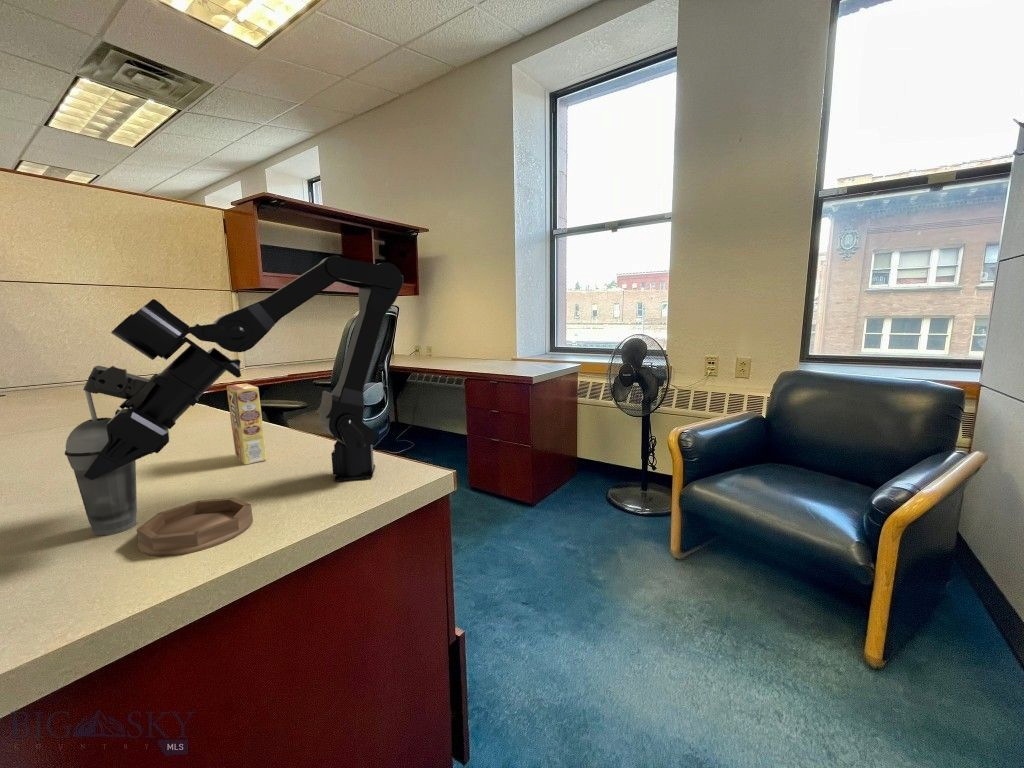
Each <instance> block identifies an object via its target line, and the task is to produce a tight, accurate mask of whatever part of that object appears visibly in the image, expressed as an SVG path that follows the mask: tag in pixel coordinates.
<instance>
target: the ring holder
mask: <svg viewBox="0 0 1024 768" xmlns="http://www.w3.org/2000/svg"><path fill="white" fill-rule="evenodd" d="M252 510H253V509H252V503H249V502H246V501H244V500H242V499H240V498H237V497H226V498H225V497H223V498H212V499H211V498H210V499H202V500H201V499H200V500H195V501H192V502H190V503H187V504H183V505H178V506H176V507H173V508H169V509H167V510H163V511H161V512H158V513H156V514H155V515H154V516H152V517H150V519H147V521H146V522H144V523H142V524H141V525H139V526H138V528H136V534H137V547H138V550H139V551H140V552H141V553H142V554H145V555H147V556H152V557H153V556H154V557H169V556H180V555H184V554H191V553H194V552H199V551H203V550H206V549H209V548H212V547H216V546H218V545H221V544H223V543H226V542H228V541H231V540H232V539H235V538H236V537H238V536H240V535H241V534H243V533H245V531H247V530H248V529H249V528H250V527H251V526H252V524H253V522H254V515H253V511H252Z"/></svg>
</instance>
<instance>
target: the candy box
mask: <svg viewBox="0 0 1024 768" xmlns="http://www.w3.org/2000/svg"><path fill="white" fill-rule="evenodd" d="M226 392H227V393H226V394H227V402H228V408H229V416H230V423H231V432H232V438H233V439H232V441H233V445H234V455H235V456H236V458H238V459H239V460H240V462H242V463H243V464H244V465H250V464H255V463H258V462H259V463H261V462H264V461H267V454H266V452H267V451H266V445H265V444H266V443H265V435H264V425H263V417H262V407H261V400H260V390H259V387H258V386H255V385H252V384H250V383H241V384H240V383H239V384H231V385H230V384H229V385H226Z"/></svg>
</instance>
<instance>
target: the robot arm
mask: <svg viewBox="0 0 1024 768" xmlns="http://www.w3.org/2000/svg"><path fill="white" fill-rule="evenodd" d="M334 283H340V284H342V285H346V286H348V287H352V288H357V289H358V304H359V305H358V307H359V310H358V314H357V317H356V321H355V324H354V328H353V331H352V334H351V338H350V341H349V345H348V347H347V352H346V355H345V358H344V360H343V361H344V362H343V365H342V368H341V372H340V374H339V379H338V381H337V383H336V386H335V387H334V388H333V390H332V391H331V392H329V391H327V390H323V391H322V395H321V401H320V405H319V407H318V408H317V410H316V411H315V412H316V413H317V414H319V416H318V421H319V424H320V426H321V427H322V429H324V430H325V431H326V432H328V434H330V435H331V437H332V438H333V440H336V442H334V445H333V450H332V452H331V455H330V456H331V465H332V466H331V468H332V475H333V476H334V481H335V482H340V481H341V482H343V481H353V480H363V479H364V478H366V479H372V478H373V477H374V474H373V473H375V471H376V470H375V469H376V464H374V449H373V448H374V447H373V445H374V444H375V442H376V438H377V435H378V434H377V432H376V431H375V430H373V428H371V427H370V426H368V425H367V424H366V423H364V416H365V399H364V390H365V389H364V388H365V384H366V383H367V378H368V375H369V371H370V367H371V364H372V361H373V357H374V354H375V351H376V347H377V344H378V341H379V336H380V332H381V329H382V325H383V323H384V319H385V316H386V315H387V313H388V312H389V311H390V309H391V308H392V307H393V305H394V304H395V302H396V300H397V299H398V297H399V294H400V293H401V290H402V288H403V285H404V275H402V272H401V269H399V268H398V267H397V266H396V265H395V264H394V263H390V262H387V261H386V262H381V263H372V262H368V261H362V260H356V259H349V258H345V257H342V256H340V255H337V254H336V255H330V256H327V257H325V258H323V259H322V260H321V261H319V263H318V264H317V265H315V266H313V267H312V268H310V269H308V270H307V271H306V272H304V273H302V274H300V275H299V276H297V277H296V278H295V279H293V280H291V281H290V282H287V284H285V285H283V286H282V287H280V288H279V289H277V290H275V291H274V292H272V293H270V294H269V295H268V296H266V297H264V298H262V299H261V300H259V301H256V302H253V303H251V304H249V305H246V306H243V307H241V308H239V309H236V310H234V311H231V312H229V313H226V314H224V315H222V316H220V317H218V318H217V319H216V320H214V321H213V323H209V324H202V325H200V324H199V323H196V324H194V325H193V326H190V325H188V324H187V323H185V321H183V320H182V319H180V318H179V317H178V316H176V315H175V314H174V313H172V312H171V311H169V310H168V308H166V307H165V306H164V305H163V303H161V302H160V301H158V300H157V299H155V298H154V299H153V298H152V299H151V300H150V301H149V302H147V303H146V304H144V306H142V307H141V308H140V309H138V310H137V311H136V312H135V313H130V314H129V315H127V317H126V318H125V319H124V320H122V321H121V322H120V323H118V325H117V326H116V327H115V328H113V330H112V331H111V332H110V334H112V335H113V336H115V337H116V338H118V339H119V340H121V341H122V342H124V343H126V344H127V345H129V346H130V347H131V348H133V349H135V350H136V351H138V352H139V353H141V354H142V355H144V356H145V357H147V358H148V359H150V360H151V361H154V360H155V359H156V358H157V357H159V358H161V359H164V360H165V361H167V360H168V359H170V357H172V356H173V355H174V354H175V353H176V352H177V351H178V350H180V349H181V348H182V347H183V345H184V344H186V343H187V344H189V346H188V347H187V348H185V349H184V351H182V352H181V353H180V354H179V355H178V356H177V357H176V358H175V359H174V360H173V361H172V362H170V363H169V365H167V366H166V368H164V369H163V370H162V371H161V372H159V373H157V372H156V373H154V374H153V375H152V376H151V377H150V378H146V377H143V376H139V375H136V374H133V373H128V371H127V369H126V368H123V369H122V368H119V367H116V366H115V365H112V366H110V367H106V366H102V365H95V366H93V367H92V370H91V372H90V375H89V376H88V378H87V381H86V383H85V385H84V386H85V387H84V386H83V391H84V392H85V391H87V392H91V394H102V395H104V396H105V395H106V396H109V397H113V398H117V399H122V400H123V402H121V404H120V405H119V407H118V408H120V409H116V411H115V412H114V413H115V414H114V416H113V417H112V419H111V420H110V421H109V422H108V424H107V425H106V431H107V434H108V439H109V440H108V442H107V444H106V445H105V446H104V448H103V449H102V451H101V452H100V453H99V455H98V456H97V458H96V459H95V460H94V462H93V463H92V464H91V466H90V467H89V469H88V470H87V471H86V473H85V474H84V477H86V478H88V479H90V480H94V479H96V478H98V477H101V476H103V475H105V474H107V473H109V472H111V471H113V470H115V469H118V468H120V467H122V466H124V465H126V464H128V463H130V462H133V461H137V460H139V459H141V458H144V457H146V456H149V455H152V454H154V453H155V454H159V452H161V451H162V450H163V449H164V447H166V445H167V444H169V443H170V431H169V430H172V428H173V427H174V426H175V425H176V423H177V420H178V419H179V418H181V416H182V415H183V414H184V413H185V412H186V411H187V410H188V409H189V408H190V407H194V406H195V405H196V404H197V403H198V402H199V398H200V397H201V396H203V394H205V392H206V391H207V390H208V389H209V388H210V387H211V386H212V385H213V384H215V382H216V381H217V380H218V379H219V378H220V377H222V376H223V374H225V372H228V373H230V374H231V375H233V376H234V377H235V378H238V379H239V378H240V377H242V373H241V368H240V367H241V362H242V361H241V359H239V358H235V359H232V358H229V357H228V356H226V355H225V354H224V353H222V351H220V350H218V349H217V348H215V347H212V348H211V349H209V350H208V351H207V350H205V349H203V348H202V347H201V346H200V345H198V344H196V343H195V342H194V341H193V340H191V339H189V338H188V337H187V335H188V334H191V335H192V336H193V337H195V338H196V339H197V340H198V341H201V342H209V343H215V344H216V345H217V346H219V347H220V348H221V349H224V350H226V351H229V352H232V353H244V352H246V351H249V350H251V349H252V348H254V347H255V346H256V345H257V344H258V343H259V342H260V341H261V340H262V339H263V338H264V337H265V336H266V335H267V334H268V333H269V332H270V330H271V329H272V328H273V327H274V326H276V324H277V323H278V322H279V321H280V320H281V319H282V318H284V317H285V316H287V315H288V314H291V312H293V311H294V310H296V309H298V308H299V307H300V306H302V305H303V304H304V303H306V302H307V301H309V300H311V299H312V298H313V297H315V296H317V295H318V294H319V293H321V292H323V291H325V290H326V289H327V288H329V287H330V286H332V285H333V284H334ZM371 477H372V478H371ZM364 480H365V479H364Z"/></svg>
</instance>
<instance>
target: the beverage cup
mask: <svg viewBox="0 0 1024 768" xmlns="http://www.w3.org/2000/svg"><path fill="white" fill-rule="evenodd" d="M84 387H85V385H84V386H83V388H84ZM84 393H85V397H86V400H87V404H88V405H87V406H88V409H89V412H90V417H91V419H88V420H85V421H83V422H82V423H80V424H78V425H77V426H75V428H74V429H73V430H71V432H70V433H69V435H68V437H67V438H66V442H65V451H64V455H65V456H66V457H67V461H68V463H69V464H70V468H71V469H72V470H73V473H74V476H75V480H76V483H77V486H78V490H79V494H80V497H81V500H82V504H83V506H84V510H85V513H86V517H87V521H88V523H89V525H90V528H91V531H92V534H93V536H96V535H98V537H99V536H100V537H103V536H102V535H105V536H111V535H114V534H115V535H116V534H119V533H122V532H125V531H128V530H129V529H132V528H133V527H135V526H136V525H137V523H138V521H137V514H138V501H137V500H138V499H137V498H138V497H137V472H136V471H137V465H136V461H137V460H135V461H133V462H130V463H128V464H126V465H124V466H122V467H120V468H118V469H115V470H113V471H111V472H109V473H107V474H105V475H103V476H101V477H98V478H96V479H94V480H90V479H88V478H86V477H84V474H85V473H86V471H87V470H88V469H89V467H90V466H91V464H92V463H93V462H94V460H95V459H96V458H97V456H98V455H99V453H100V452H101V451H102V449H103V448H104V446H105V445H106V444H107V442H108V440H109V439H108V434H107V431H106V425H107V424H108V422H109V421H110V420H111V419H112V418H113V417H112V418H111V417H98V416H97V413H96V408H95V405H94V400H93V395H92V393H91V392H87V391H85V390H84ZM136 522H137V523H136ZM135 524H136V525H135ZM134 525H135V526H134Z"/></svg>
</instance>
